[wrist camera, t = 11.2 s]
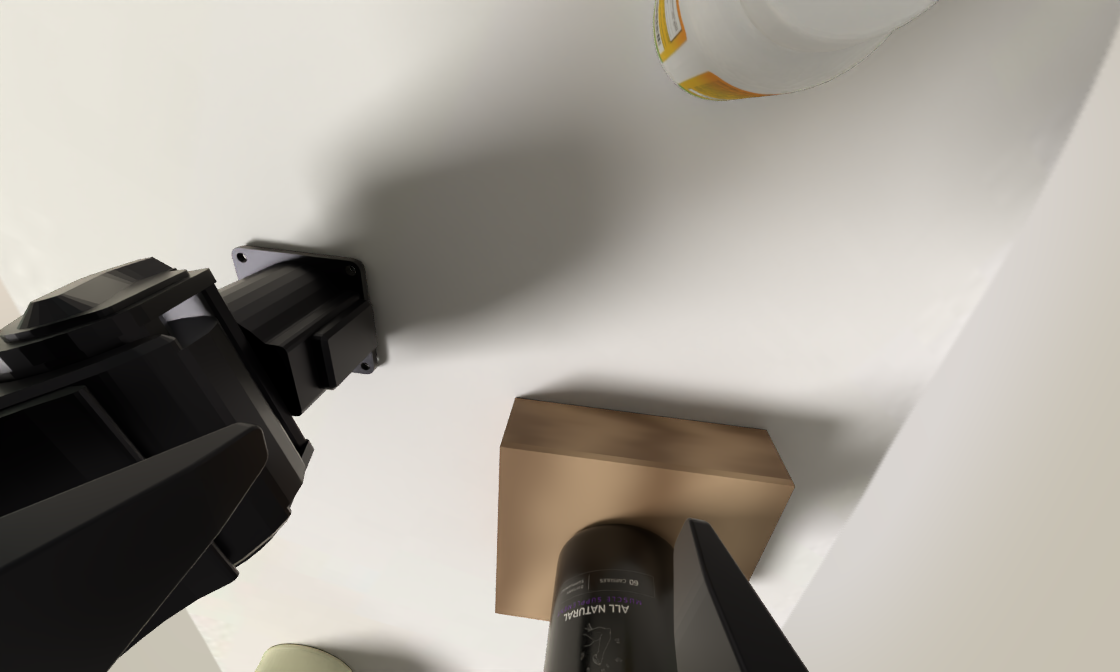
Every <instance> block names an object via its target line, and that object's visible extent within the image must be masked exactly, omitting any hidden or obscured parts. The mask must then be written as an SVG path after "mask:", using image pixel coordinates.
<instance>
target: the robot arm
mask: <svg viewBox="0 0 1120 672" xmlns="http://www.w3.org/2000/svg"><path fill="white" fill-rule="evenodd" d="M243 254H244V255H245V256H246V258H247V259H245V258H244V256H243ZM232 259H233V262H234V266H235V269H236V273H237V276H238V281H236V282H234V283H232V284H229V285H227V286H225V287H223V288H221V289H217V288H216V286H215V284H214V283H216V282H217V281H216V280H215V278H214V276H213V275H212V273H211V271H210V269H209V268H205V269H200V270H194V271H189V272H188V271H187V270H177V269H176V268H171V267H169V266H168V265H166V264H164V263H162V262H160V261H159V260H157V259H155V258H153V257H150V258H145V259H140V260H136V261H133V262H130V263H126V264H123V265H120V266H117V267H114V268H111V269H107V270H104V271H101V272H98V273H95V274H92V275H89V276H87V277H84V278H81V279H79V280H77V281H74V282H72V283H70V284H68V285H66V286H64V287H61V288H59V289H57V290H55V291H53V292H51V293H49V294H46V295H44V296H42V297H40V298H38V299H36V300H34V301H32V302H30V304H29V306H28V308H27V309H26V311H25V313H24V315H22V316H21V317H19V318H18V319H16V320H14V321H13V322H12V323H10V324H8V325H7V326H5V327H4V328H3V329H1V330H0V672H107V671H108V670H109V669H110V668H111V666H112V665H113V664H114V663H115V662H116V660H117V659H118V658H119V657H120V656H122V655H123V654H124V653H125V652H126V651H128V650H129V649H130V648H131V647H132V646H133V645H135V644H136V643H137V642H138V641H139V640H141V639H142V638H143V637H145V636H146V635H147V634H149V633H150V632H151V631H152V630H154V629H155V628H156V627H157V626H159V625H160V624H161V623H163V622H164V621H165V620H167V619H168V618H170V617H171V616H173V615H175V614H176V613H178V612H179V611H181V610H182V609H184V608H185V607H187V606H188V605H190V604H192V603H193V602H195V601H196V600H198V599H199V598H201V597H203V596H205V595H207V594H209V593H211V592H213V591H215V590H217V589H219V588H221V587H223V586H225V585H227V584H229V583H231V582H233V581H234V580H235V579H236V578H237V577H238V575H239V571H238V570H237V569H236V567H237V566H239V565H240V564H242V563H244V562H245V561H247V560H248V559H249V558H251V557H252V556H253V555H254V554H256V553H257V552H258V551H259V550H261V549H262V548H263V547H264V546H265V545H266V544H267V543H268V542H269V541H270V540H271V539H272V538H273V536H274V535H275V534H276V533H277V531H278V530H279V529H280V528H281V527H282V526H283V525H284V524H285V523H286V522H287V520H288V518H289V517H290V515H291V509H290V507H291V504H292V502H293V499H294V497H295V495H296V493H297V492H298V490H299V488H300V487H301V485H302V484H303V479H304V474H305V471H306V468H307V466H308V463H309V461H310V459H311V456H312V454H313V451H314V448H313V446H312V445H311V443H310V441H309V440H308V439H305V438H304V436H303V434H302V433H301V431H300V429H299V428H298V426H297V424H296V423H295V421H294V419H293V417H292V416H300V415H301V414H302V413H303V412H304V411H305V410H306V409H307V408H308V407H309V406H310V405H311V404H313V403H314V402H315V401H316V400H317V399H318V398H319V397H320V396H321V395H322V394H323V393H324V392H325V391H326V390H334V389H335V388H336V387H337V386H339V385H340V384H341V382H342V381H343V380H344V379H345V378H346V377H347V376H348V375H349V374H350V373H351V372H354V373H362V374H370V373H372V372H373V371H374V370H375V369H376V368H377V356H376V349H375V348H376V347H377V338H376V331H375V323H374V316H373V308H372V304H371V303H370V301H369V297H368V290H367V282H366V275H365V268H364V265H363V264H362V263H361V262H360V261H359V260H357V259H354V258H347V257H338V256H330V255H321V254H313V253H304V252H296V251H287V250H279V249H270V248H262V247H253V246H240V247H237V248H235V249H233V251H232ZM350 266H352V267H354V268H355V271H356V273H354V272H352V271H351V269H350ZM364 362H365V363H367V364H368V365H369V366H370V367H369V366H367V365H365V363H364ZM674 638H675V650H676V659H677V669H678V672H809V671H808V670H807V668H806V667H805V665H804V664H803V662H802V661H801V659H800V658H799V656H798V655H797V653H796V652H795V650H794V649H793V647H792V646H791V644H790V643H789V641H788V640H787V638H786V637H785V636H784V634H783V632H782V631H781V629H780V628H779V626H778V625H777V623H776V622H775V620H774V619H773V617H772V616H771V614H770V613H769V611H768V610H767V608H766V607H765V605H764V604H763V602H762V601H761V599H760V598H759V596H758V595H757V593H756V592H755V590H754V589H753V587H752V586H751V584H750V583H749V581H748V580H747V578H746V577H745V575H744V574H743V572H742V571H741V569H740V568H739V566H738V565H737V563H736V562H735V560H734V559H733V558H732V556H731V555H730V553H729V552H728V550H727V549H726V547H725V546H724V544H723V543H722V541H721V540H720V538H719V537H718V535H717V534H716V532H715V531H714V529H713V528H712V526H711V525H710V524H709V523H708V522H707V521H704V520H700V519H695V518H687V519H686V520H685V522H684V524H683V526H682V529H681V531H680V533H679V535H678V537H677V540H676V542H675V546H674Z"/></svg>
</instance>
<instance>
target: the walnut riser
mask: <svg viewBox="0 0 1120 672" xmlns="http://www.w3.org/2000/svg"><path fill="white" fill-rule="evenodd" d="M794 488H795V485H794V483H793V481H792V479H791V477H790V475H789V473H788V471H787V469H786V468H785V466H784V464H783V462H782V460H781V458H780V456H779V454H778V452H777V450H776V448H775V446H774V444H773V442H772V440H771V438H770V436H769V434H768V432H767V430H761V429H754V428H746V427H738V426H730V425H723V424H715V423H707V422H700V421H692V420H684V419H676V418H669V417H661V416H653V415H645V414H638V413H630V412H622V411H614V410H607V409H599V408H591V407H583V406H576V405H568V404H560V403H552V402H545V401H537V400H529V399H521V398H515V401H514V404H513V407H512V410H511V413H510V417H509V420H508V423H507V426H506V429H505V432H504V436H503V439H502V442H501V445H500V463H499V498H498V534H497V569H496V604H495V613H498V614H505V615H511V616H518V617H525V618H531V619H538V620H545V621H550V615H551V607H552V599H553V591H554V583H555V576H556V569H557V562H558V558H559V554H560V552H561V550H562V548H563V546H564V545H565V544H566V542H567V541H568V540H569V539H570V538H571V537H573V536H574V535H575V534H577V533H579V532H580V531H582V530H584V529H587V528H589V527H593V526H597V525H602V524H628V525H634V526H638V527H641V528H644V529H647V530H649V531H652V532H654V533H655V534H657V535H659V536H661V537H662V538H663V539H665V540H666V541H667V542H668V543H669V544H670V545H671V546H672V547H673V548H674V546H675V542H676V540H677V537H678V535H679V533H680V531H681V529H682V526H683V524H684V522H685V520H686V519H687V518H695V519H700V520H704V521H707V522H708V523H709V524H710V525H711V526H712V528H713V529H714V531H715V532H716V534H717V535H718V537H719V538H720V540H721V541H722V543H723V544H724V546H725V547H726V549H727V550H728V552H729V553H730V555H731V556H732V558H733V559H734V560H735V562H736V563H737V565H738V566H739V568H740V569H741V571H742V572H743V574H744V575H745V577H746V578H747V580H748V581H749V580H750V578H751V576H752V574H753V572H754V569H755V567H756V565H757V563H758V561H759V559H760V557H761V555H762V553H763V551H764V549H765V547H766V545H767V543H768V541H769V539H770V537H771V535H772V533H773V531H774V529H775V527H776V525H777V522H778V520H779V518H780V516H781V514H782V512H783V510H784V508H785V506H786V504H787V502H788V500H789V498H790V496H791V494H792V492H793V490H794Z"/></svg>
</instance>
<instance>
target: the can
mask: <svg viewBox="0 0 1120 672" xmlns="http://www.w3.org/2000/svg"><path fill="white" fill-rule="evenodd" d="M255 672H352V670H351V669H350V668H349V667H348V666H347V665H346V664H345V663H343V662H342V661H341V660H339V659H338V658H336V657H334V656H332V655H330V654H328V653H326V652H324V651H321V650H318V649H315V648H312V647H308V646H303V645H295V644H283V645H277V646H274V647H271V648H269V649H268V650H267V651H266V652H265V653H264V654H263V656H262V660H261V661H260V663H259V665H258V667H257V669H256V670H255Z"/></svg>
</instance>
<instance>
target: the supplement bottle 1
mask: <svg viewBox="0 0 1120 672" xmlns="http://www.w3.org/2000/svg"><path fill="white" fill-rule="evenodd" d="M544 672H678V669H677V659H676V650H675V638H674V548H673V547H672V546H671V545H670V544H669V543H668V542H667V541H666V540H665V539H663V538H662V537H661V536H659V535H657V534H655V533H654V532H652V531H649V530H647V529H644V528H641V527H638V526H634V525H628V524H602V525H597V526H593V527H589V528H587V529H584V530H582V531H580V532H579V533H577V534H575V535H574V536H573V537H571V538H570V539H569V540H568V541H567V542H566V544H565V545H564V546H563V548H562V550H561V552H560V554H559V558H558V562H557V569H556V576H555V583H554V591H553V599H552V607H551V615H550V624H549V632H548V640H547V648H546V656H545V664H544Z"/></svg>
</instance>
